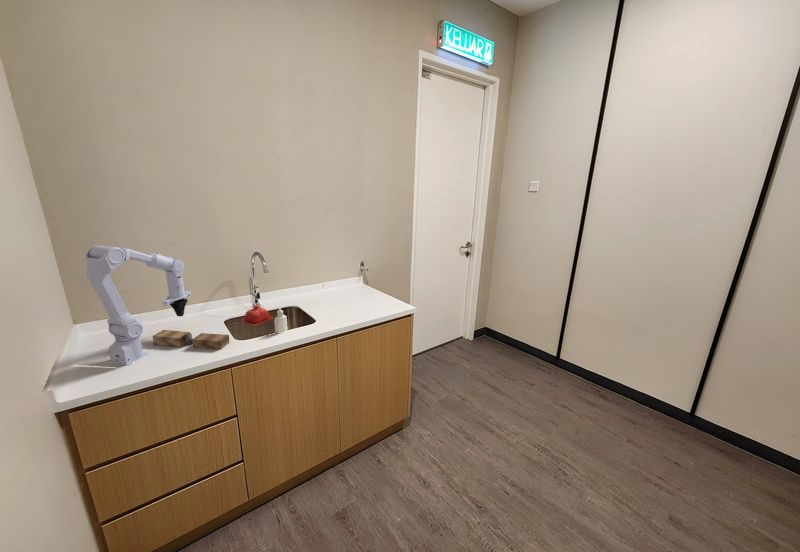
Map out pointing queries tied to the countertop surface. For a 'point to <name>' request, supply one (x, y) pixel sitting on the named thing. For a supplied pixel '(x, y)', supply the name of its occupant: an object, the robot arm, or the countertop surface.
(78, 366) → the countertop surface
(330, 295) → the countertop surface
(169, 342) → the swing leaf
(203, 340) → the oblong wooden brick
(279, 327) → the eye dropper bottle
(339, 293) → the countertop surface
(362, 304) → the countertop surface
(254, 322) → the butter dish
